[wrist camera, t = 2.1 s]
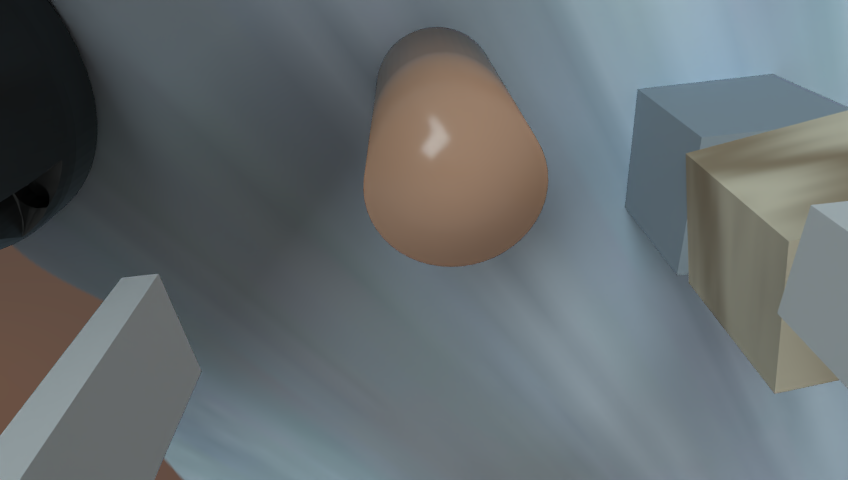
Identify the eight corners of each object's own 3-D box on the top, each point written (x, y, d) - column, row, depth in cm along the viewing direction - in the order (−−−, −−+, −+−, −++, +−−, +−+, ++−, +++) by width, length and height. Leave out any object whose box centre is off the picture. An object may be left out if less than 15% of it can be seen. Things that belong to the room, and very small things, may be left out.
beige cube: (688, 282, 22) (774, 393, 17) (685, 153, 19) (788, 241, 14) (840, 246, 22) (976, 351, 17) (861, 106, 19) (1037, 181, 13)
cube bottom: (624, 206, 27) (677, 275, 22) (637, 88, 24) (701, 137, 19) (743, 193, 27) (824, 260, 22) (772, 73, 24) (873, 118, 19)
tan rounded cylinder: (385, 151, 25) (377, 275, 17) (367, 34, 22) (348, 111, 14) (496, 138, 25) (546, 256, 16) (492, 20, 22) (550, 88, 14)
